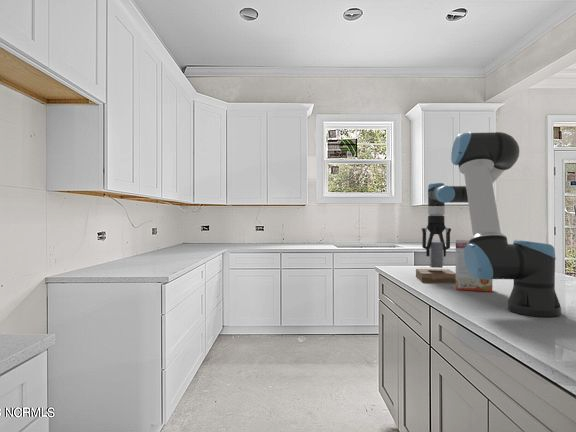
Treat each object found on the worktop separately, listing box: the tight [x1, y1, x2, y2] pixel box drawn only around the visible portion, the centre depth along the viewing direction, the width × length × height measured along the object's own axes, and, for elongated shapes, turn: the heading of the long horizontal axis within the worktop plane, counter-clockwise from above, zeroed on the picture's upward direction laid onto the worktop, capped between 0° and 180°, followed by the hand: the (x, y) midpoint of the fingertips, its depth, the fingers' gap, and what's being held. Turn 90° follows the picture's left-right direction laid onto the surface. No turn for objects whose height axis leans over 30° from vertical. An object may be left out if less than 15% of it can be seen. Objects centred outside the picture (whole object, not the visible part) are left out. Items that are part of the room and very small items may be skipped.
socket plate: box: [415, 268, 456, 284], centre depth 195 cm, size 16×16×4 cm
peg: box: [428, 241, 444, 269], centre depth 195 cm, size 5×5×12 cm
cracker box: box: [455, 239, 493, 293], centre depth 170 cm, size 14×6×21 cm, turn 68°
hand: (435, 263), depth 195 cm, fingers closed on peg, 5 cm apart
